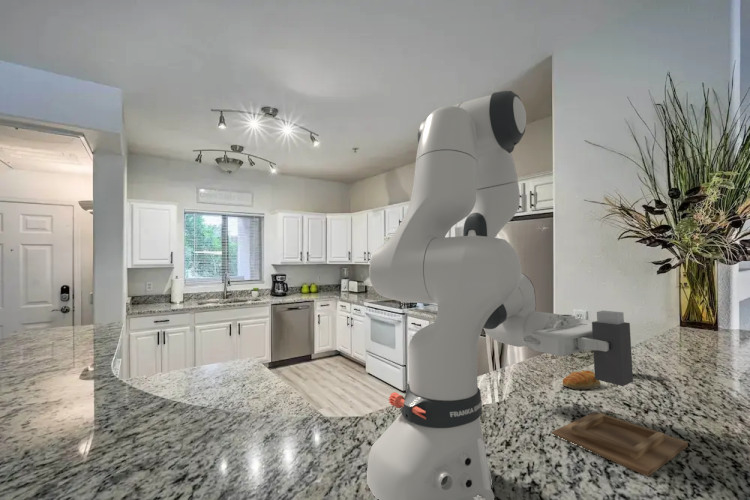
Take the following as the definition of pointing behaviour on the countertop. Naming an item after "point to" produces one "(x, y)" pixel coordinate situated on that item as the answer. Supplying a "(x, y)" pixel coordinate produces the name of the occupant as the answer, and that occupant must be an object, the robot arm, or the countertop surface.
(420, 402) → the robot arm
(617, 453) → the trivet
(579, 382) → the pastry
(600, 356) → the capped dark pillar
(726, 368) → the countertop surface
